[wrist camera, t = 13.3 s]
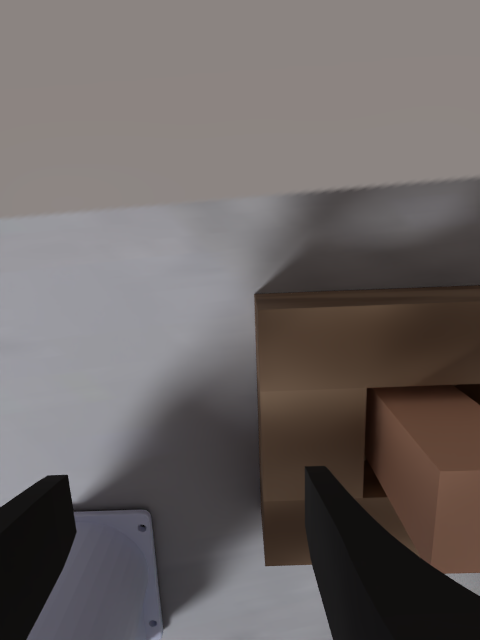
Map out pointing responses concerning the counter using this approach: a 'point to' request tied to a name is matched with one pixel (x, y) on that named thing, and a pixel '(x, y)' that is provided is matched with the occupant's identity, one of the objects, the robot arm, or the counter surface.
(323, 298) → the socket block
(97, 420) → the counter surface
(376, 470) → the peg
